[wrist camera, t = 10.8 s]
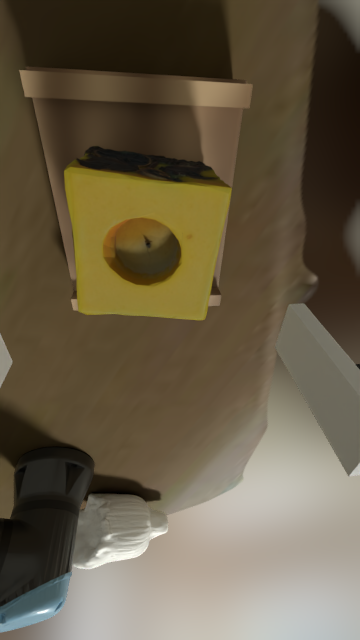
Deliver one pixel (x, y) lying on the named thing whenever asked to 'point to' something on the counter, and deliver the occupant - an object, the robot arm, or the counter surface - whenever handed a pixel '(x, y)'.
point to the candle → (144, 233)
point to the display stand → (135, 126)
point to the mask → (115, 529)
